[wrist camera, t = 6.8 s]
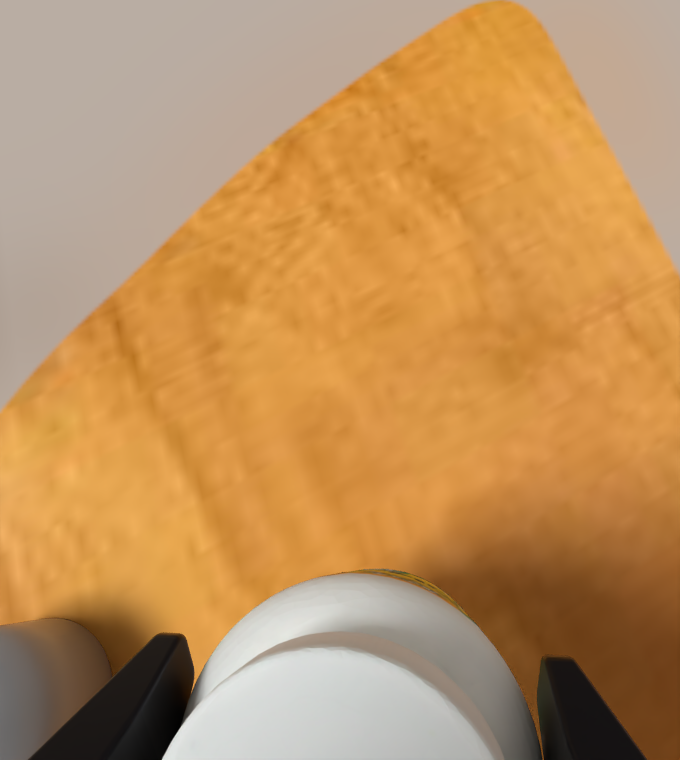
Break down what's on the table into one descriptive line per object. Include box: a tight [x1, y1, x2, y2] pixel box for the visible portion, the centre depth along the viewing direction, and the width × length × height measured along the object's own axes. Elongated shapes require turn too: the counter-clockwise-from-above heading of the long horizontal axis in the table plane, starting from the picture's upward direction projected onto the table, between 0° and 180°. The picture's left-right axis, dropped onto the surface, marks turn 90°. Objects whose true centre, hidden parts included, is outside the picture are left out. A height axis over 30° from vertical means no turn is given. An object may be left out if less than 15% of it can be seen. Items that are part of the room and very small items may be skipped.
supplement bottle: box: [162, 569, 543, 760], centre depth 10 cm, size 5×5×10 cm
